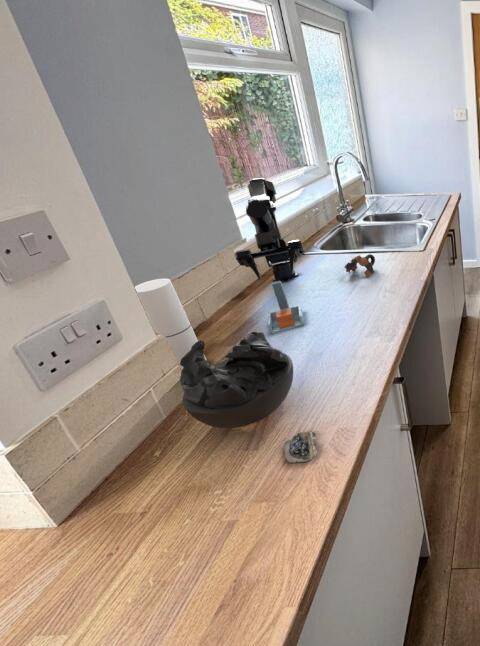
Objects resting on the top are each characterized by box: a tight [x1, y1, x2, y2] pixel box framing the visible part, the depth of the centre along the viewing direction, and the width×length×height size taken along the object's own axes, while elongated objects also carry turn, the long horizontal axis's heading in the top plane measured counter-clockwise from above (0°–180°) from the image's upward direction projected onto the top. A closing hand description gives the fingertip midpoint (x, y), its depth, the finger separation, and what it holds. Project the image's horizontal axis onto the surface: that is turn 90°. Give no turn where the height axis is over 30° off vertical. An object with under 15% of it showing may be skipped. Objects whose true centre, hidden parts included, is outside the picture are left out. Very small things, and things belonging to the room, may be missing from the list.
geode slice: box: [283, 430, 318, 464], centre depth 80 cm, size 7×8×2 cm
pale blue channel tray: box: [267, 281, 305, 335], centre depth 123 cm, size 10×9×12 cm
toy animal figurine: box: [344, 253, 376, 278], centre depth 155 cm, size 12×10×8 cm
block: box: [276, 307, 295, 329], centre depth 122 cm, size 4×4×4 cm
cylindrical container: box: [134, 277, 210, 370], centre depth 100 cm, size 7×7×25 cm
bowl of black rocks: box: [179, 331, 294, 429], centre depth 86 cm, size 20×20×19 cm
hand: (276, 275), depth 128 cm, fingers open, 9 cm apart
